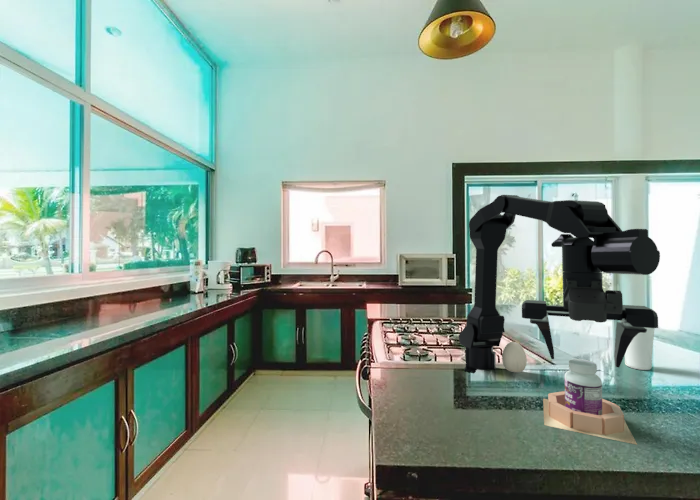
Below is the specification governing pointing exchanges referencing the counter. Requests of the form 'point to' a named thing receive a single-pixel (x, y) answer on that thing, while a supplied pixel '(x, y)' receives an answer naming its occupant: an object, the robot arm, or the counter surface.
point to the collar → (586, 416)
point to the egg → (514, 357)
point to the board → (551, 422)
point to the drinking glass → (640, 351)
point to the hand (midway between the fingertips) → (583, 362)
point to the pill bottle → (583, 387)
